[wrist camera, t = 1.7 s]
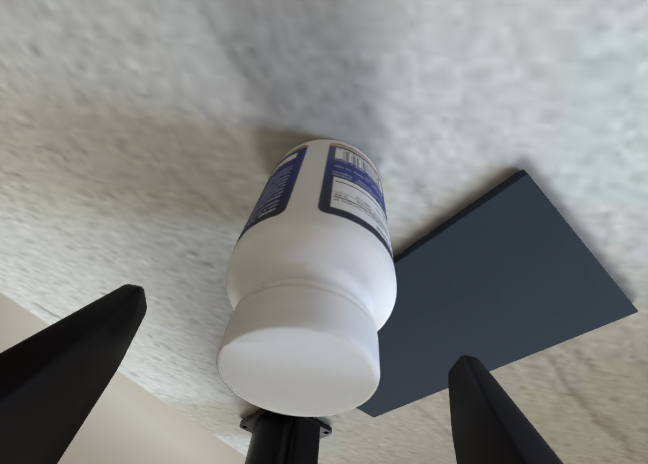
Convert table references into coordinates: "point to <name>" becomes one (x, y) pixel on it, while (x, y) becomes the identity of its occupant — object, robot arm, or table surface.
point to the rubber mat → (489, 293)
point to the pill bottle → (310, 286)
